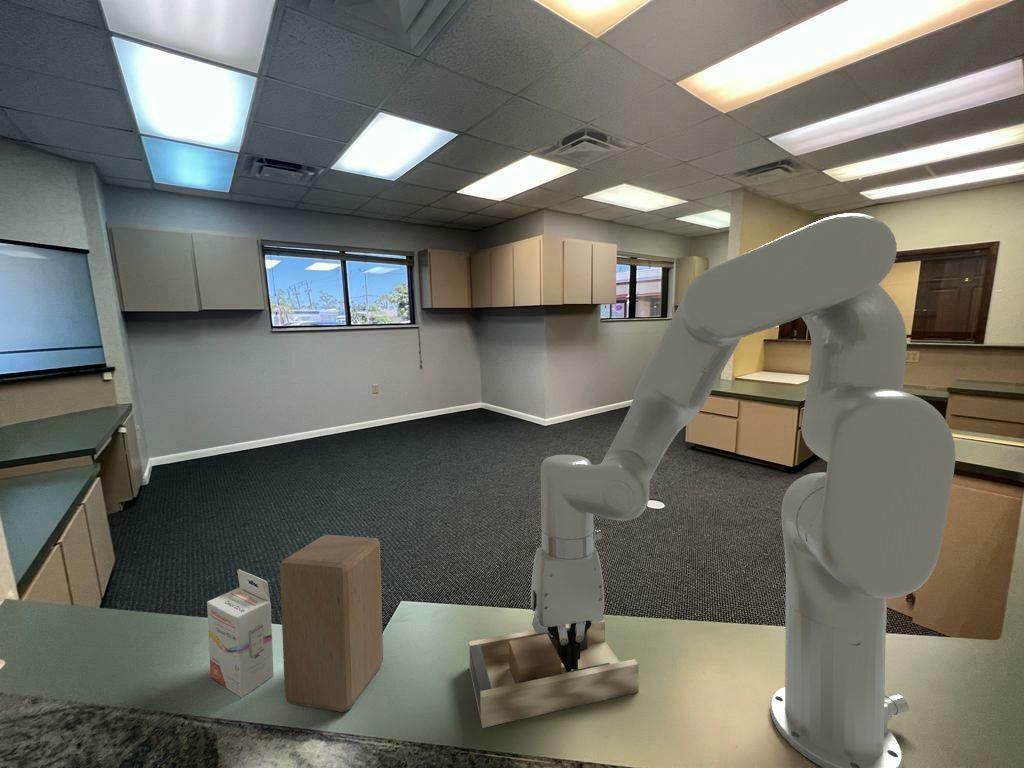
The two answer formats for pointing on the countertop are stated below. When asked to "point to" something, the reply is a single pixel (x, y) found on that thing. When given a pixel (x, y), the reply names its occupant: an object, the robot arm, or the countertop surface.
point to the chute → (577, 687)
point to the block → (331, 621)
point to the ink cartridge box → (241, 636)
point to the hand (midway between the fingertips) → (568, 664)
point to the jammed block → (533, 659)
